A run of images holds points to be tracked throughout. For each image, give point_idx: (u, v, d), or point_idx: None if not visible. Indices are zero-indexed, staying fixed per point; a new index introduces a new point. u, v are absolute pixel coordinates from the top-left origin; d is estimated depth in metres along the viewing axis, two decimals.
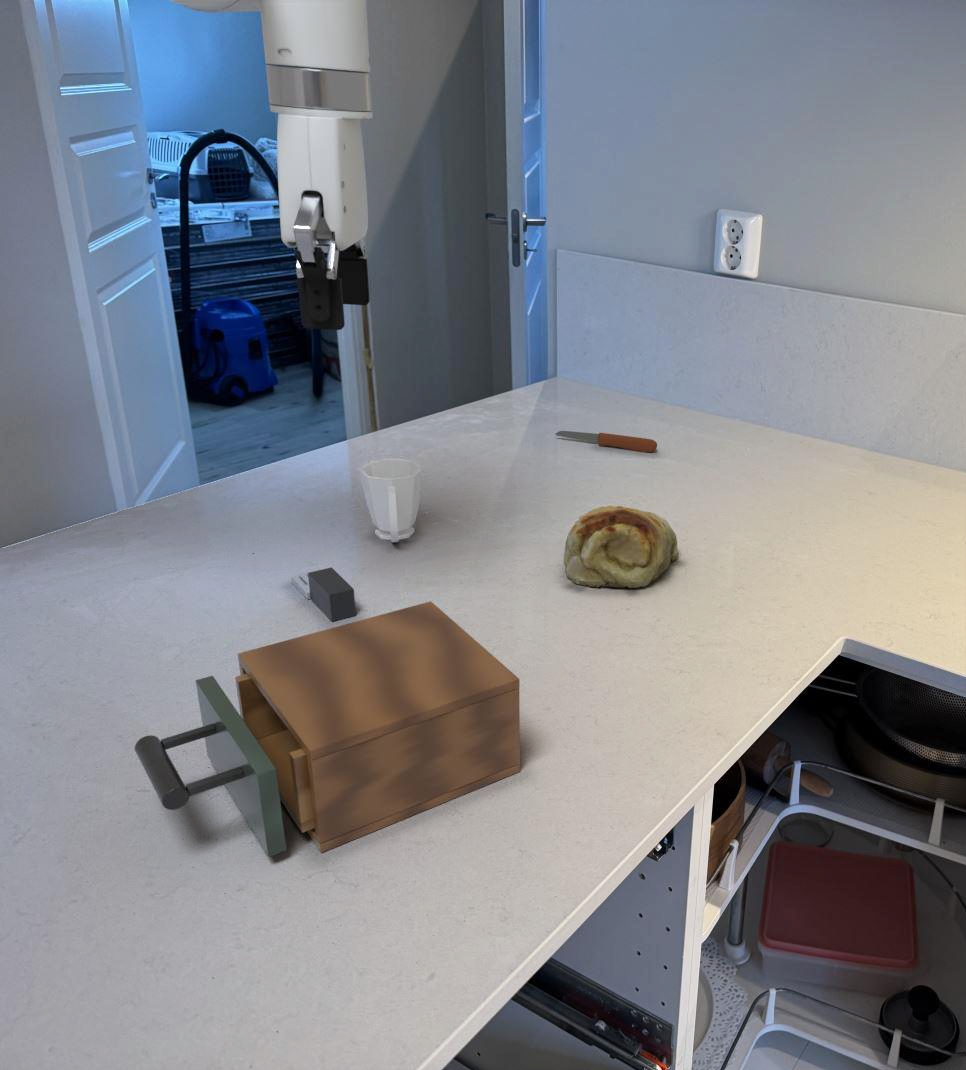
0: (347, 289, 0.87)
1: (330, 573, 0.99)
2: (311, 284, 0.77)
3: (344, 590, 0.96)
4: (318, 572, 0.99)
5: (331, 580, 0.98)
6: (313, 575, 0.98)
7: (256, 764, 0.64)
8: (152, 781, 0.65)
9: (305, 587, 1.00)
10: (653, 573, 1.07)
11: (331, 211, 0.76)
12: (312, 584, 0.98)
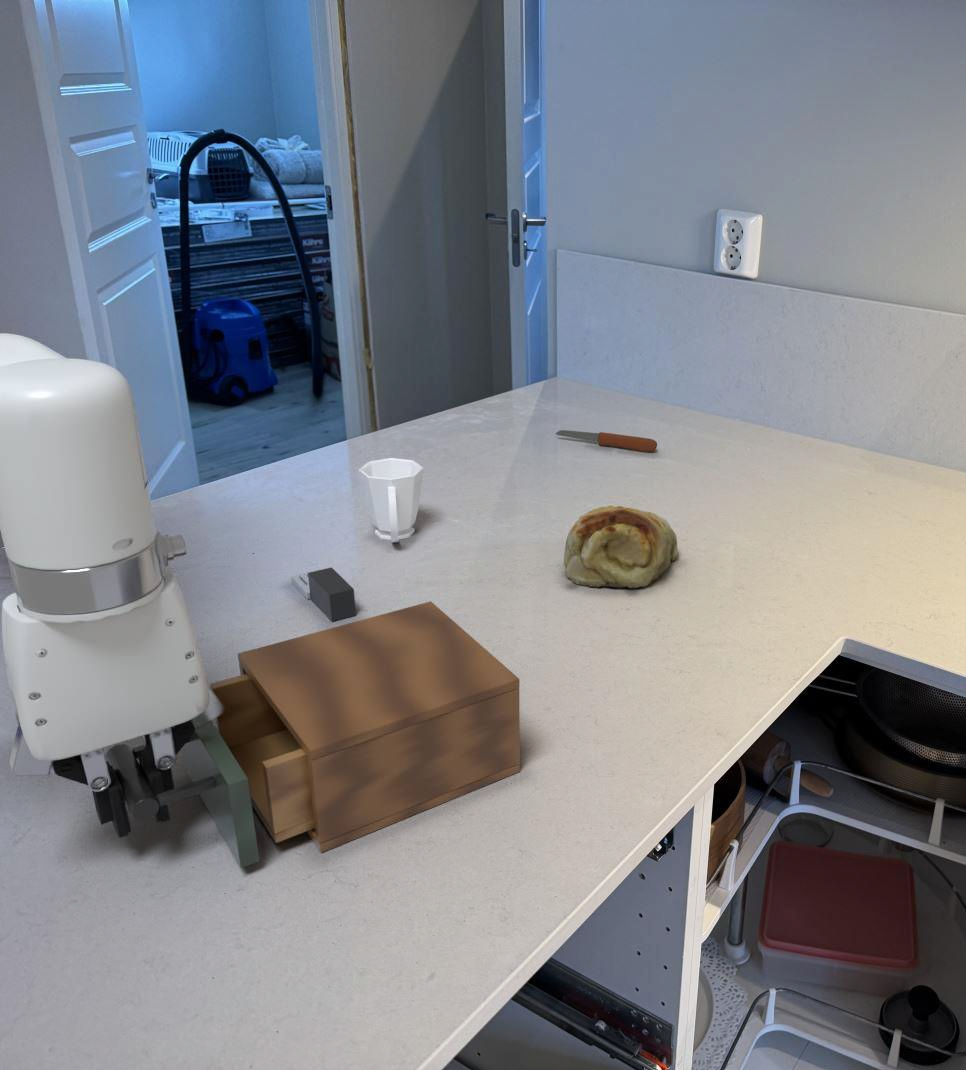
0: None
1: (330, 573, 0.99)
2: None
3: (344, 590, 0.96)
4: (318, 572, 0.99)
5: (331, 580, 0.98)
6: (313, 575, 0.98)
7: (227, 773, 0.63)
8: None
9: (305, 587, 1.00)
10: (653, 573, 1.07)
11: (21, 722, 0.58)
12: (312, 584, 0.98)
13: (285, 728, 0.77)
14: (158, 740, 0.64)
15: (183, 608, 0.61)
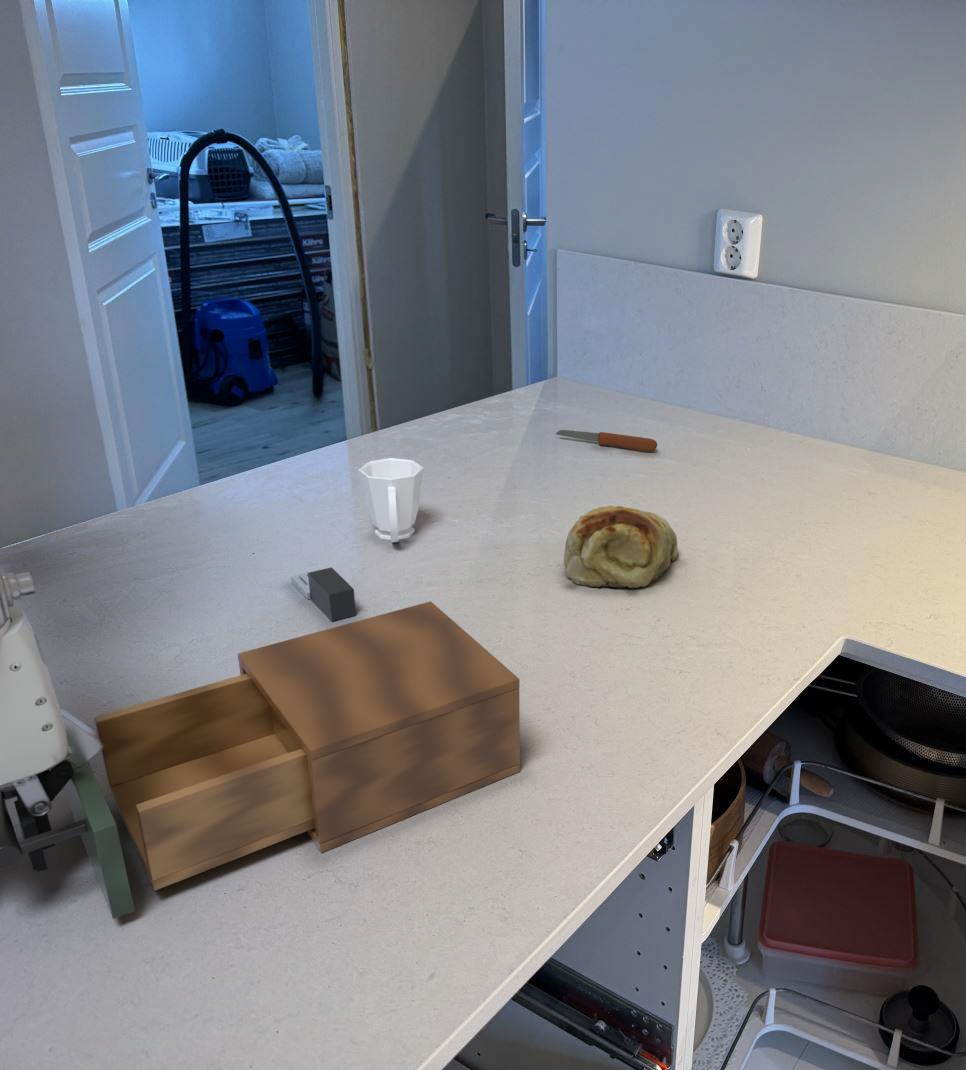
0: None
1: (330, 573, 0.99)
2: None
3: (344, 590, 0.96)
4: (318, 572, 0.99)
5: (331, 580, 0.98)
6: (313, 575, 0.98)
7: (94, 819, 0.59)
8: None
9: (305, 587, 1.00)
10: (653, 573, 1.07)
11: None
12: (312, 584, 0.98)
13: (181, 762, 0.72)
14: (24, 788, 0.59)
15: (32, 651, 0.57)
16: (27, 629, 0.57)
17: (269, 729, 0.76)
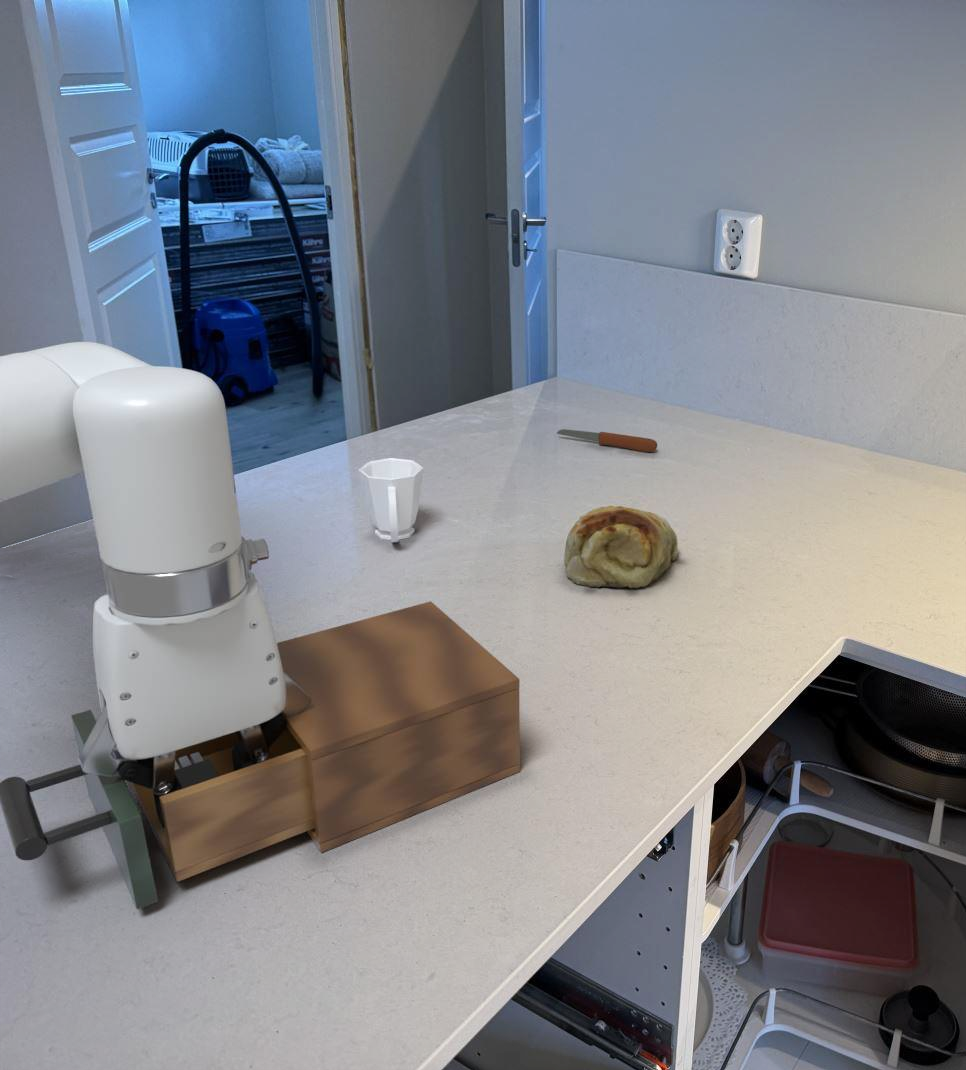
0: None
1: (204, 771, 0.67)
2: None
3: None
4: (186, 771, 0.67)
5: None
6: (178, 776, 0.67)
7: (119, 810, 0.59)
8: (9, 829, 0.60)
9: None
10: (653, 573, 1.07)
11: (111, 722, 0.59)
12: None
13: None
14: (249, 736, 0.65)
15: (266, 611, 0.63)
16: (261, 591, 0.63)
17: None
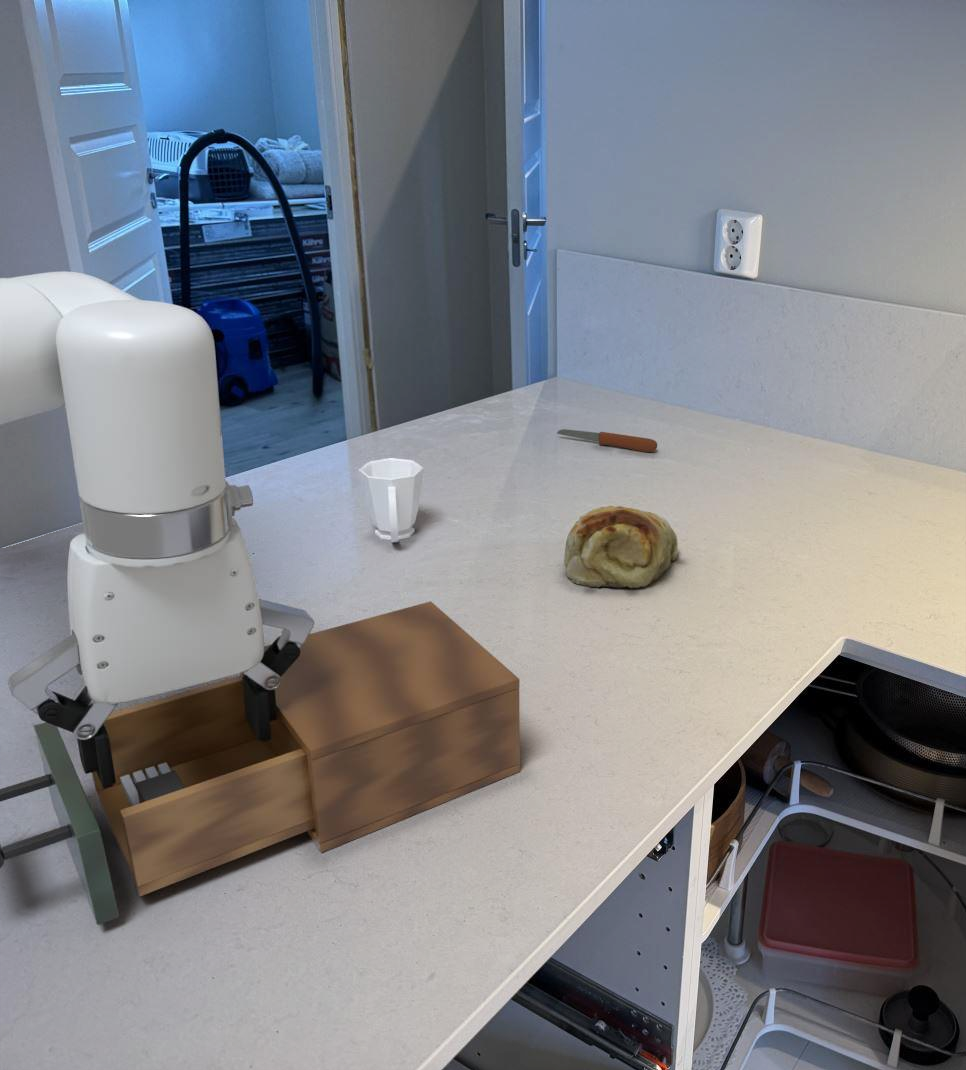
0: (251, 715, 0.68)
1: (169, 783, 0.66)
2: None
3: None
4: (151, 782, 0.66)
5: None
6: (142, 788, 0.65)
7: (78, 824, 0.58)
8: None
9: (136, 799, 0.67)
10: (653, 573, 1.07)
11: (83, 664, 0.58)
12: (141, 801, 0.65)
13: None
14: (251, 671, 0.65)
15: (247, 559, 0.61)
16: (243, 538, 0.61)
17: None
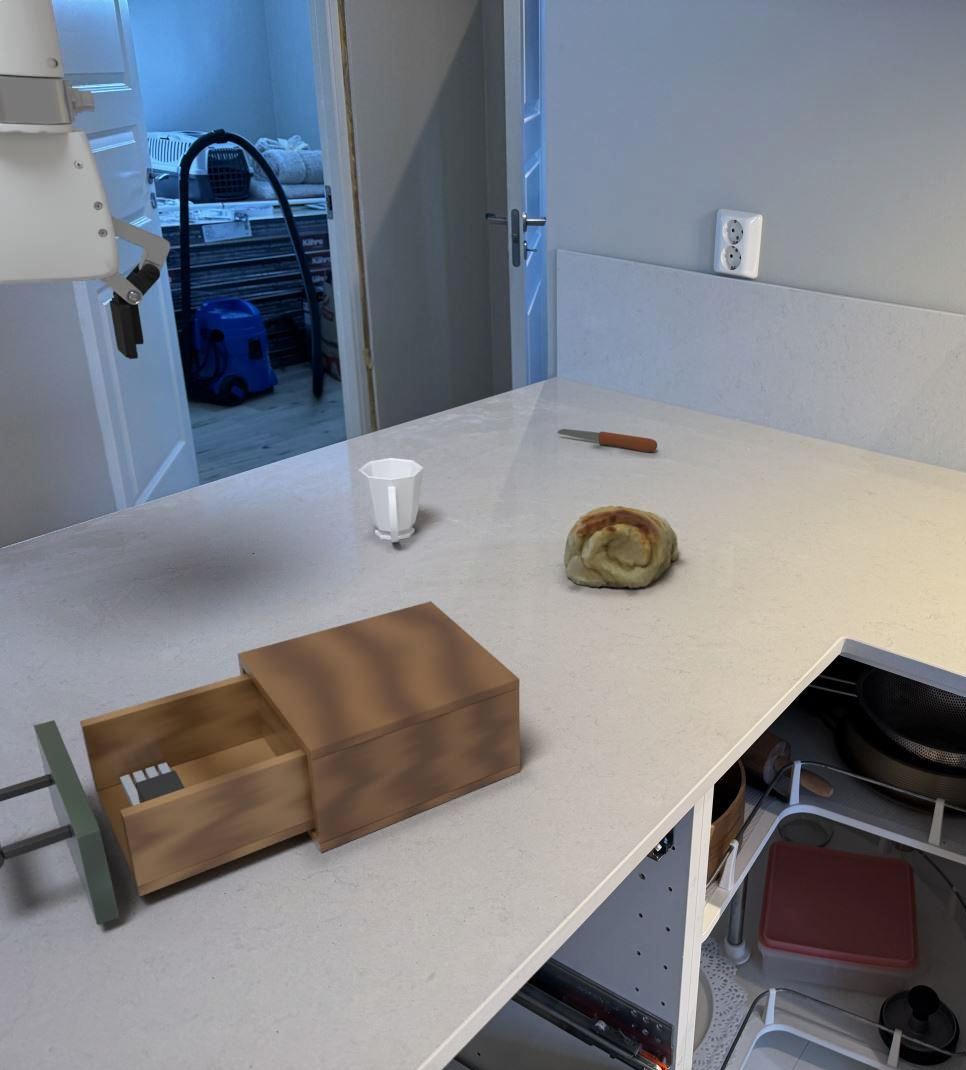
0: (119, 337, 0.74)
1: (169, 783, 0.66)
2: None
3: None
4: (151, 782, 0.66)
5: None
6: (142, 788, 0.65)
7: (78, 824, 0.58)
8: None
9: (136, 799, 0.67)
10: (654, 573, 1.07)
11: None
12: (141, 801, 0.65)
13: None
14: (110, 280, 0.71)
15: (92, 157, 0.67)
16: (87, 139, 0.68)
17: (258, 733, 0.76)
